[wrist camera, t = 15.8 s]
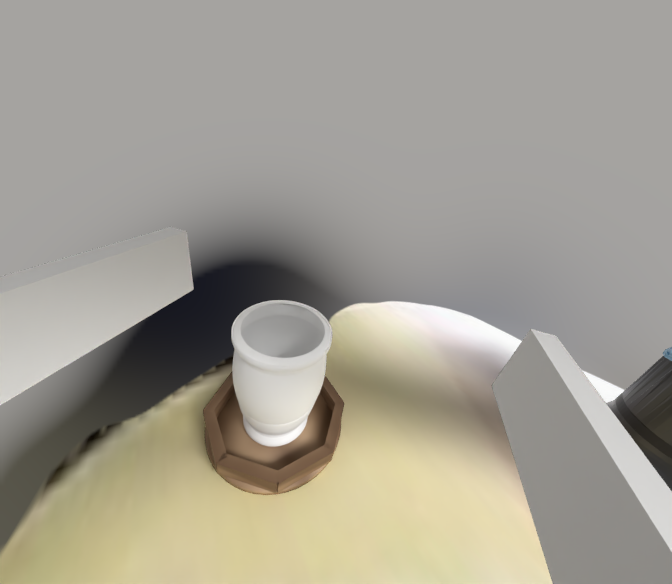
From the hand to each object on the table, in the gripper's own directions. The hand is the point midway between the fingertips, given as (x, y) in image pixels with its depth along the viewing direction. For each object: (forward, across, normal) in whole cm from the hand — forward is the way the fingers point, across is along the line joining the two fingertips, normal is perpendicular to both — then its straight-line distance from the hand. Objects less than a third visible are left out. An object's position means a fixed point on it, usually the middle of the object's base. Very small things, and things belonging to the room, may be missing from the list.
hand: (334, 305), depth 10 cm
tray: (+12, -7, -28) cm, 31 cm away
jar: (+12, -7, -27) cm, 31 cm away
